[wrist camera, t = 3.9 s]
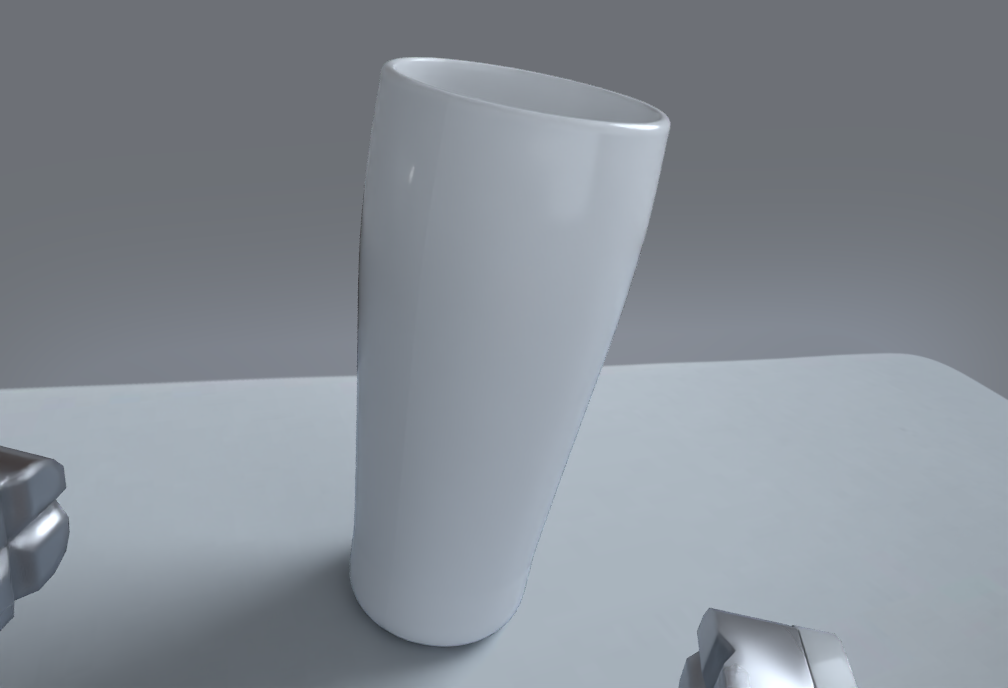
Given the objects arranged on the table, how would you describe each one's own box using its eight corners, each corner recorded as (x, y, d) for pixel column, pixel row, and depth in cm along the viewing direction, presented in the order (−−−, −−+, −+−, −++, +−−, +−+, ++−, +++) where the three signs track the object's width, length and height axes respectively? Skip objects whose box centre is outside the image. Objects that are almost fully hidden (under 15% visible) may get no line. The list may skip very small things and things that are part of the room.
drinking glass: (331, 691, 20) (402, 96, 14) (316, 519, 26) (361, 42, 20) (574, 667, 22) (733, 142, 16) (510, 513, 28) (609, 81, 22)
